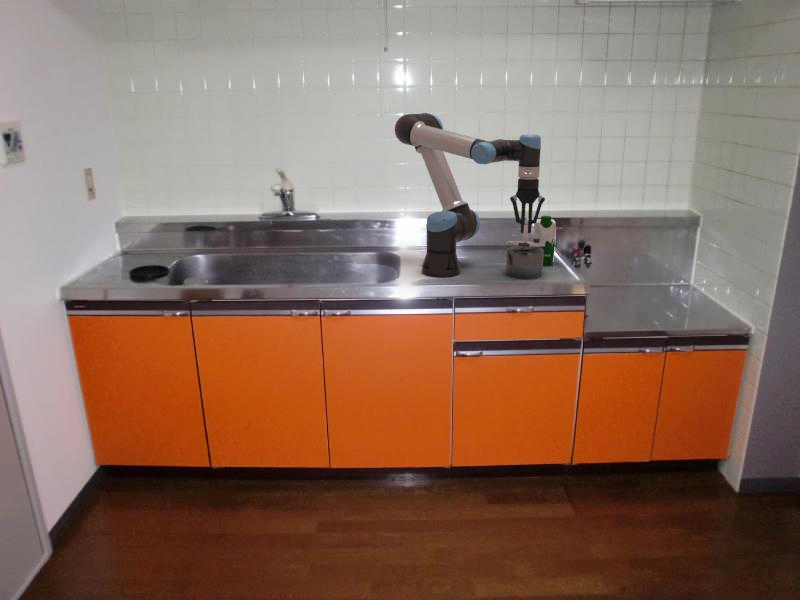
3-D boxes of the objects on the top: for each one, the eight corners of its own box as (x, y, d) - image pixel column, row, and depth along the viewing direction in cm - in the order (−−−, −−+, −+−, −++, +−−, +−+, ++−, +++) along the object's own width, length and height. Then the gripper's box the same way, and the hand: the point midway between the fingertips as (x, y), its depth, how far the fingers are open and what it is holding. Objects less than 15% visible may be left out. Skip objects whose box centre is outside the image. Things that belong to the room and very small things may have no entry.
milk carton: (532, 265, 252) (535, 217, 246) (530, 260, 261) (533, 213, 255) (554, 266, 252) (558, 217, 245) (551, 260, 260) (554, 213, 254)
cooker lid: (504, 245, 230) (504, 237, 230) (508, 243, 246) (508, 236, 245) (543, 247, 227) (544, 239, 226) (545, 245, 242) (546, 238, 242)
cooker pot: (503, 277, 236) (504, 252, 233) (508, 267, 250) (509, 243, 247) (541, 280, 232) (542, 254, 229) (543, 269, 246) (545, 245, 243)
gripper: (509, 178, 223) (506, 242, 230) (546, 179, 220) (542, 244, 227) (511, 176, 230) (509, 238, 237) (547, 177, 227) (543, 240, 234)
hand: (525, 241), depth 232 cm, fingers closed
